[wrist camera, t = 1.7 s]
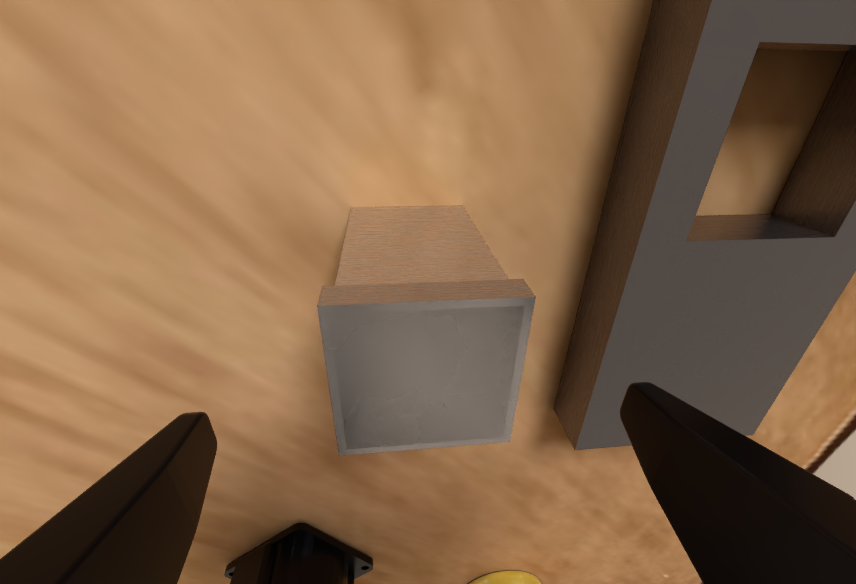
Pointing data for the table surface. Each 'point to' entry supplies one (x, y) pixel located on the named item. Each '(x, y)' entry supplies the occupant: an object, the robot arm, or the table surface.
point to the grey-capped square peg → (422, 333)
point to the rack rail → (712, 227)
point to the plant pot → (507, 578)
